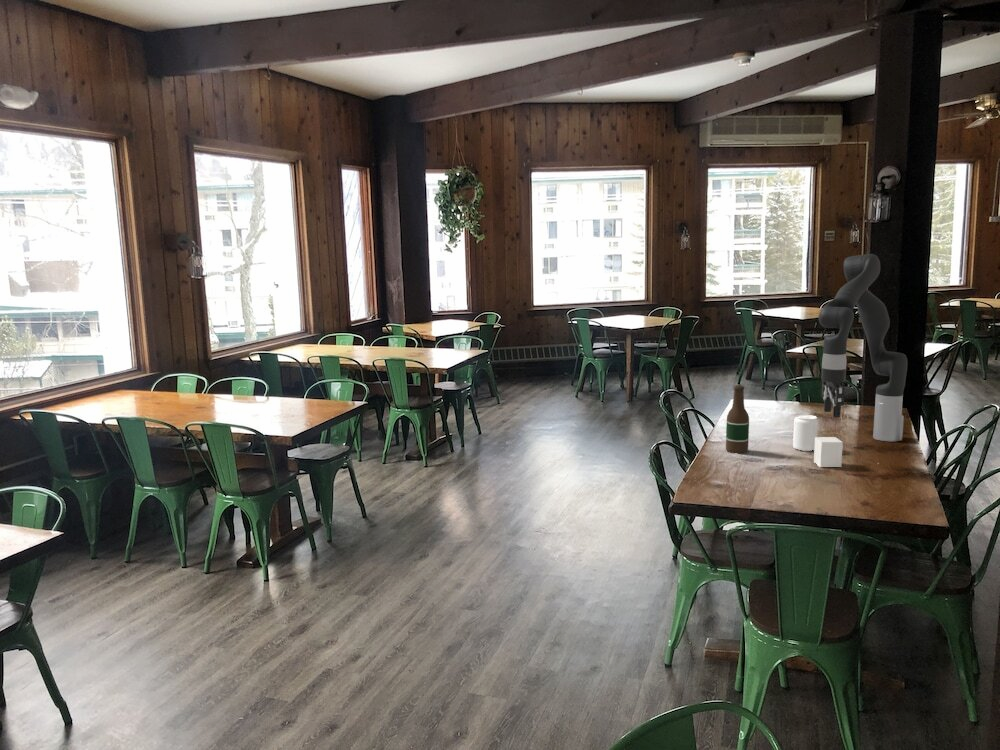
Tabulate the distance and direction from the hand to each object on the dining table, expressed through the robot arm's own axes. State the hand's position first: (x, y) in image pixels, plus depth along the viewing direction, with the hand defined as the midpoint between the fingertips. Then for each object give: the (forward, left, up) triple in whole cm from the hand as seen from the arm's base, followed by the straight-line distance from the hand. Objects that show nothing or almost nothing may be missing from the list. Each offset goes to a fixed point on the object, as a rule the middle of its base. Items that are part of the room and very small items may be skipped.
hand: (831, 414), depth 272 cm
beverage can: (+2, -20, -17) cm, 26 cm away
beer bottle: (+27, -17, -17) cm, 36 cm away
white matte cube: (+1, +1, -17) cm, 17 cm away
